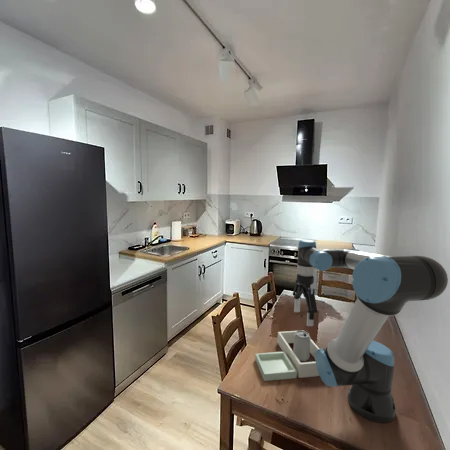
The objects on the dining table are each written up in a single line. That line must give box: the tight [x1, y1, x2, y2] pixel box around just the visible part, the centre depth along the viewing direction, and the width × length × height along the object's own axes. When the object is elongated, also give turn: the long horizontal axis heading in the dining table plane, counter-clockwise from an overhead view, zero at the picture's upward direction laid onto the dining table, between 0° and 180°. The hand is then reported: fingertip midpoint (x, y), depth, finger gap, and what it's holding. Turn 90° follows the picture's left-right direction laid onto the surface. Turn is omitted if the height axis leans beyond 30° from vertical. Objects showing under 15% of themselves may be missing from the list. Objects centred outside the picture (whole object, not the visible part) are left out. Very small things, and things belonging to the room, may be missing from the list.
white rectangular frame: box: [277, 330, 320, 378], centre depth 122 cm, size 26×14×6 cm, turn 8°
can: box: [292, 330, 312, 362], centre depth 122 cm, size 8×8×12 cm
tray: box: [254, 351, 298, 382], centre depth 114 cm, size 14×14×3 cm
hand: (303, 318), depth 120 cm, fingers open, 13 cm apart
